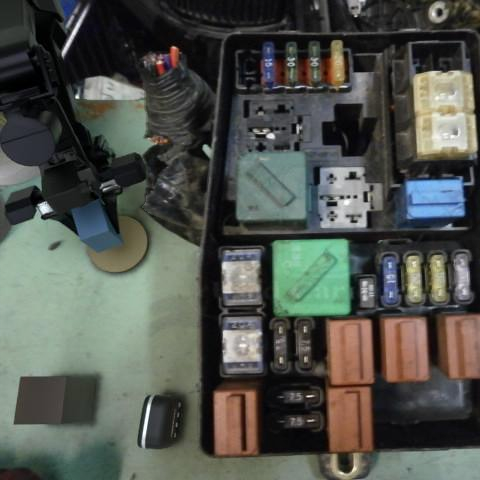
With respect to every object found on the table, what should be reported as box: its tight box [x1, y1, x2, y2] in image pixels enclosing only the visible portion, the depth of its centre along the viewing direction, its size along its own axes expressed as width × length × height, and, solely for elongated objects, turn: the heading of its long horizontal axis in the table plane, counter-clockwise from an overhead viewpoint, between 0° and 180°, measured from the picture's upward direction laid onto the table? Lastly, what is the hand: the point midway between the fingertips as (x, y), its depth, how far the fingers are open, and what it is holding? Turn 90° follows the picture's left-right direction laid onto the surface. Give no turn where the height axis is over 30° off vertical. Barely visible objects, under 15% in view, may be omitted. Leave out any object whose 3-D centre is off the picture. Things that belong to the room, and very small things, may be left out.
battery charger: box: [136, 393, 184, 450], centre depth 75 cm, size 7×4×11 cm, turn 175°
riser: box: [13, 375, 97, 426], centre depth 75 cm, size 6×6×11 cm
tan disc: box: [86, 215, 149, 273], centre depth 87 cm, size 9×9×1 cm
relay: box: [71, 199, 124, 253], centre depth 78 cm, size 4×5×7 cm
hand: (104, 238), depth 79 cm, fingers closed on relay, 4 cm apart
